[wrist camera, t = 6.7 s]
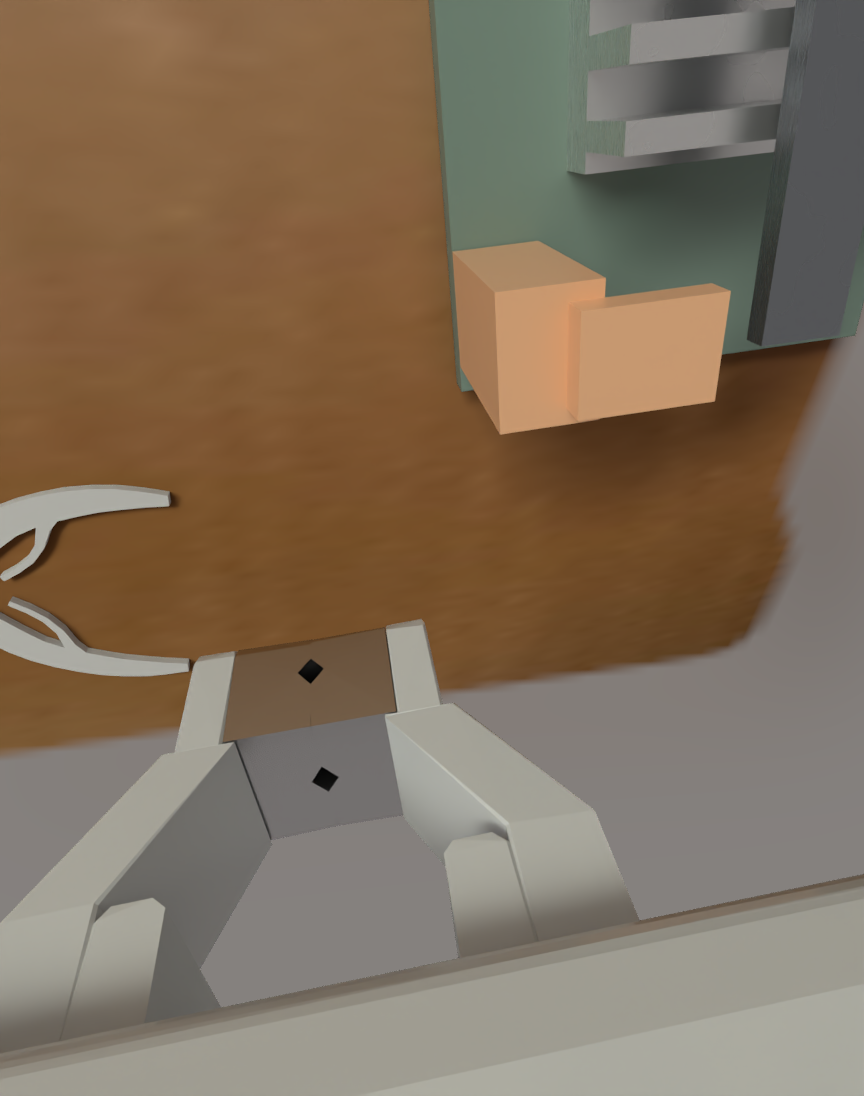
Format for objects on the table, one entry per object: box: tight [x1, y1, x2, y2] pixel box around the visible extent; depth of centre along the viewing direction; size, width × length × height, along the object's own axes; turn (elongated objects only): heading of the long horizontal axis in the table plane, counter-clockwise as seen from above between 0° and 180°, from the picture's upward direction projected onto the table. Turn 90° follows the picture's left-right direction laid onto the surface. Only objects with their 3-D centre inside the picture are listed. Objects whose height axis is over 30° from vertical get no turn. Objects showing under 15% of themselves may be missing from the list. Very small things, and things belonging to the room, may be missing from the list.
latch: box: [452, 241, 731, 434], centre depth 21 cm, size 4×6×7 cm, turn 95°
